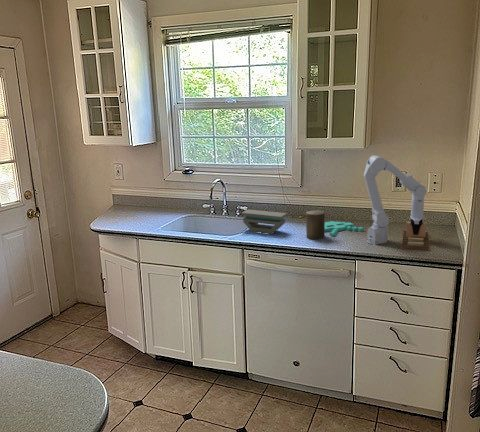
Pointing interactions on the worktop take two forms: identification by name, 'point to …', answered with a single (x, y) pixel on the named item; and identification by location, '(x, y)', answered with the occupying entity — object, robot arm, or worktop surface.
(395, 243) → the worktop surface
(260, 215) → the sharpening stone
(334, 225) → the teal pixel toy sword
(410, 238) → the offcut
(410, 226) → the salmon rectangular slab
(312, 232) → the pillar candle
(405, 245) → the rack
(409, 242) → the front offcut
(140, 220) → the worktop surface
